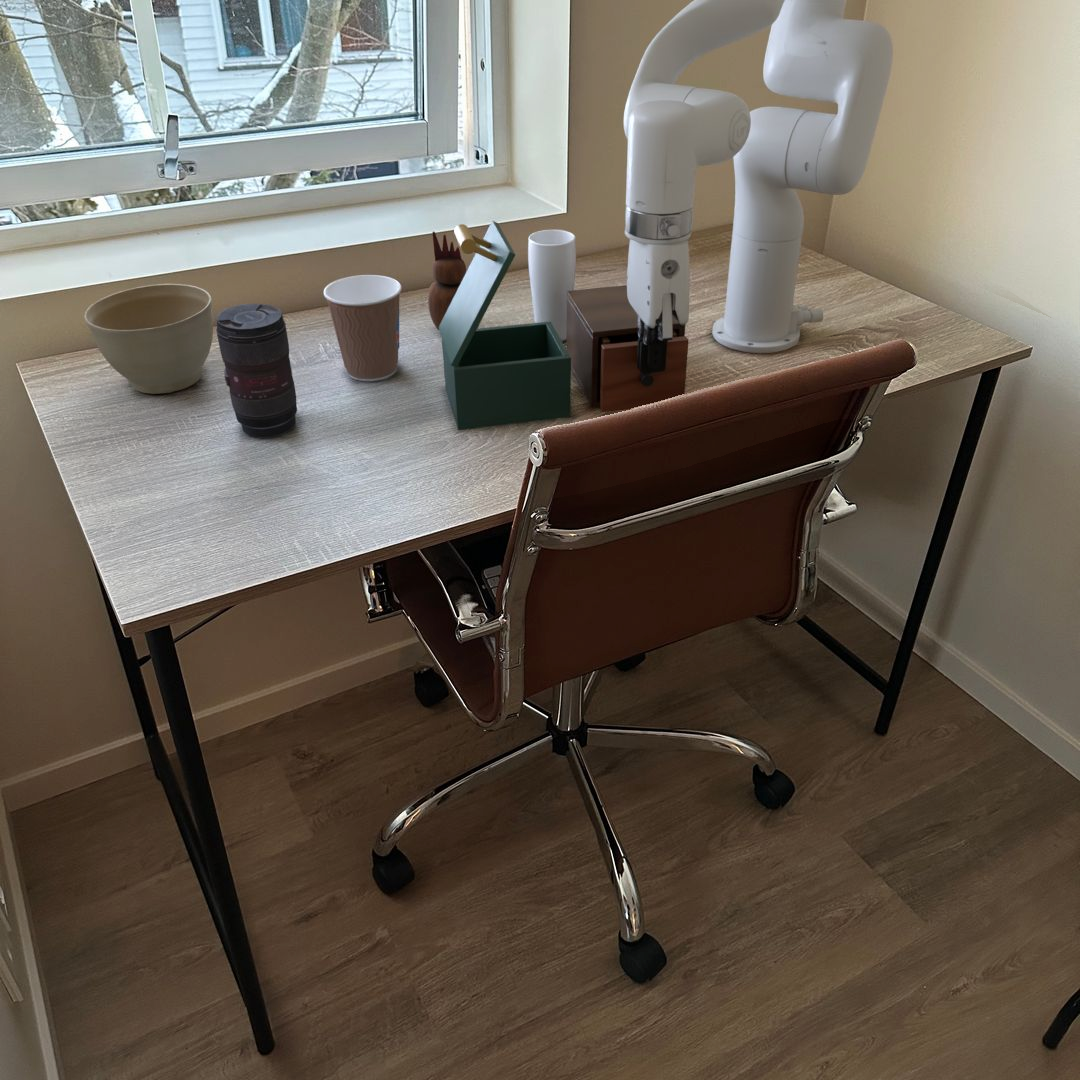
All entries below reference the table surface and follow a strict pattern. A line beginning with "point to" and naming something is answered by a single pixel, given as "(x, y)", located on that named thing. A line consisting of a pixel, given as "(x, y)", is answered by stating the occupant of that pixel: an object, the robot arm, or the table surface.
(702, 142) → the robot arm
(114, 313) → the planter bowl
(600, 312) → the cabinet
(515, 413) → the chest
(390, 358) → the coffee cup
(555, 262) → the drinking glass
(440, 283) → the wooden figurine
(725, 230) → the table surface
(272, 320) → the camera lens
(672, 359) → the drawer
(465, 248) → the lid
